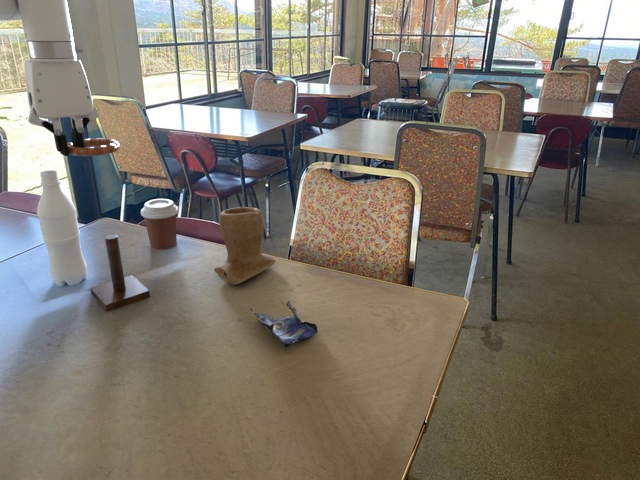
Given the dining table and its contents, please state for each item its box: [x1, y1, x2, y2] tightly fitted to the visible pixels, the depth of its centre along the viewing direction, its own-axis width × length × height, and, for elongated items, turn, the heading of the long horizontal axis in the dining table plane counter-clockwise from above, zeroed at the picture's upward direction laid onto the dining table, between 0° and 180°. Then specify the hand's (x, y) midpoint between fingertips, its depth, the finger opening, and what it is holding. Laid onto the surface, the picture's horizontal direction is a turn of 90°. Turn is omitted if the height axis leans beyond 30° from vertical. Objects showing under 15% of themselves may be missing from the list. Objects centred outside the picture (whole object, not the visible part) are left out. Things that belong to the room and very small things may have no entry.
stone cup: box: [213, 206, 276, 285], centre depth 110 cm, size 15×12×15 cm
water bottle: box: [36, 170, 88, 287], centre depth 101 cm, size 7×7×25 cm
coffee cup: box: [140, 198, 180, 251], centre depth 122 cm, size 9×9×12 cm
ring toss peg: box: [89, 234, 151, 312], centre depth 99 cm, size 9×9×14 cm
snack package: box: [250, 300, 319, 351], centre depth 90 cm, size 12×6×12 cm
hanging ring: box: [67, 138, 121, 157], centre depth 96 cm, size 10×10×2 cm
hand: (71, 153), depth 93 cm, fingers closed on hanging ring, 2 cm apart
